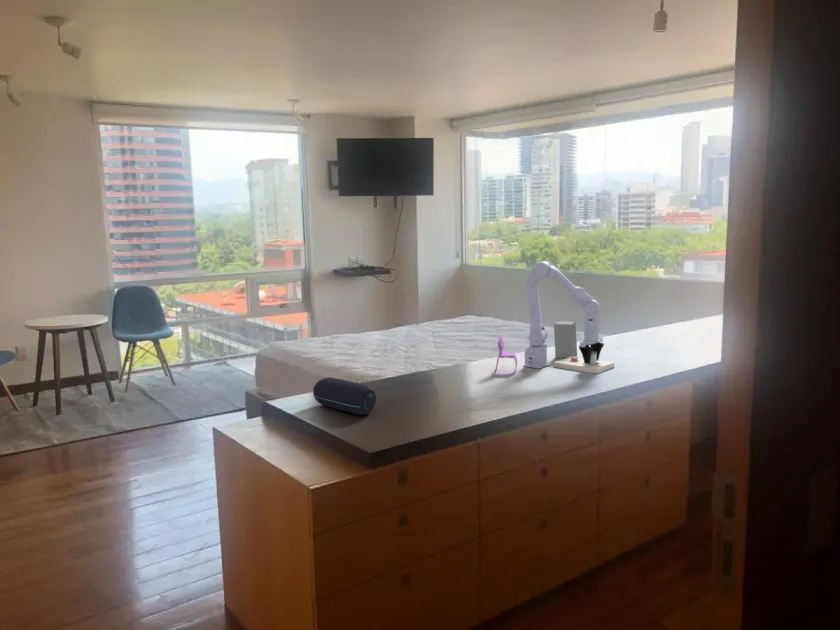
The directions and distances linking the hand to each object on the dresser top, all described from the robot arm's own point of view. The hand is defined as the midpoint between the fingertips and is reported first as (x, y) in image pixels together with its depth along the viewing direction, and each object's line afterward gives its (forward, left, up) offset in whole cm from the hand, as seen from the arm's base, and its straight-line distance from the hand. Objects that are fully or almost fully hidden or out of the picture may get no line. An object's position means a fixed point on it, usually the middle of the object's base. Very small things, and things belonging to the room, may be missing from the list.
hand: (591, 361), depth 269 cm
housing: (0, +4, -3) cm, 4 cm away
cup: (0, 0, -3) cm, 3 cm away
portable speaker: (-103, +33, -3) cm, 108 cm away
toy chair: (-26, +24, -3) cm, 36 cm away
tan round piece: (0, +8, -3) cm, 8 cm away
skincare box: (+12, +20, -3) cm, 24 cm away
